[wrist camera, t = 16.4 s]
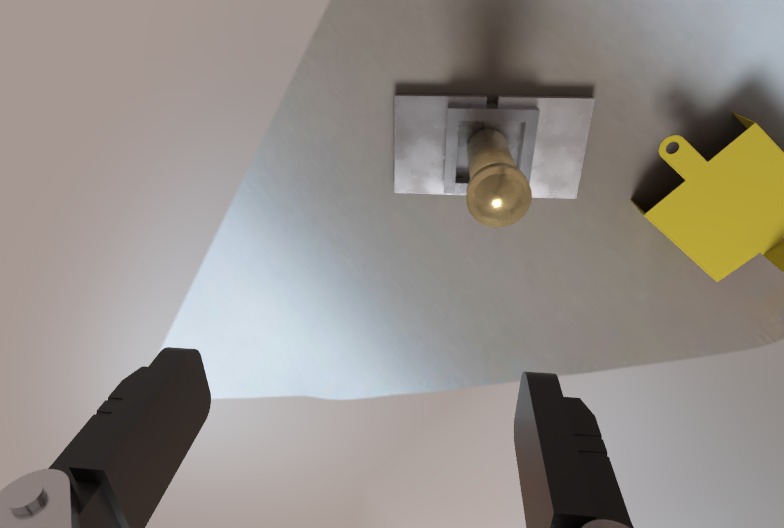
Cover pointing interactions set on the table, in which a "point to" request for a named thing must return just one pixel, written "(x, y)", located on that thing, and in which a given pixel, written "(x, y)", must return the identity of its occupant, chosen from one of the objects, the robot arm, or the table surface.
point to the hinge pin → (495, 181)
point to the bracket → (725, 202)
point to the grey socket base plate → (508, 116)
